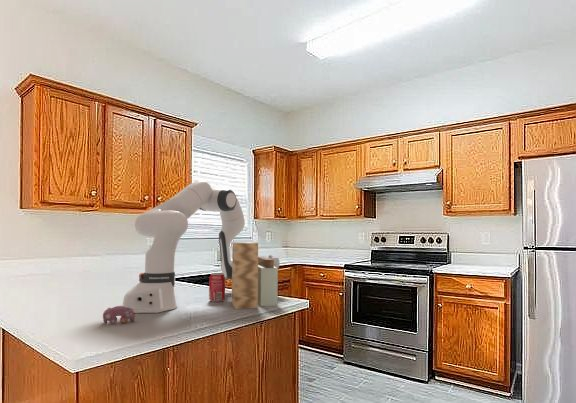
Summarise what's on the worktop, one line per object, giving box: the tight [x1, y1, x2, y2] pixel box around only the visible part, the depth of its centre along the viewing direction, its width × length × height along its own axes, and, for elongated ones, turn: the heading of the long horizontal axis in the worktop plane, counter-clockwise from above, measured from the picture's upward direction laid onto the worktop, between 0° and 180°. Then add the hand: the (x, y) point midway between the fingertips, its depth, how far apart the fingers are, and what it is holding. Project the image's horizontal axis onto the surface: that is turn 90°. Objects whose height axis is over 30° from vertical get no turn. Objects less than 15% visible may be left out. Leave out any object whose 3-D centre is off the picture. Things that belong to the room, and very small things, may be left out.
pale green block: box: [258, 265, 279, 307], centre depth 172 cm, size 7×16×16 cm, turn 15°
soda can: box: [208, 272, 226, 303], centre depth 175 cm, size 7×7×12 cm
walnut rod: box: [258, 256, 274, 268], centre depth 175 cm, size 3×22×3 cm, turn 15°
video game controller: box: [102, 305, 136, 325], centre depth 132 cm, size 10×5×7 cm, turn 108°
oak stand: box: [231, 241, 259, 310], centre depth 165 cm, size 9×12×26 cm
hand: (260, 256), depth 184 cm, fingers open, 8 cm apart
